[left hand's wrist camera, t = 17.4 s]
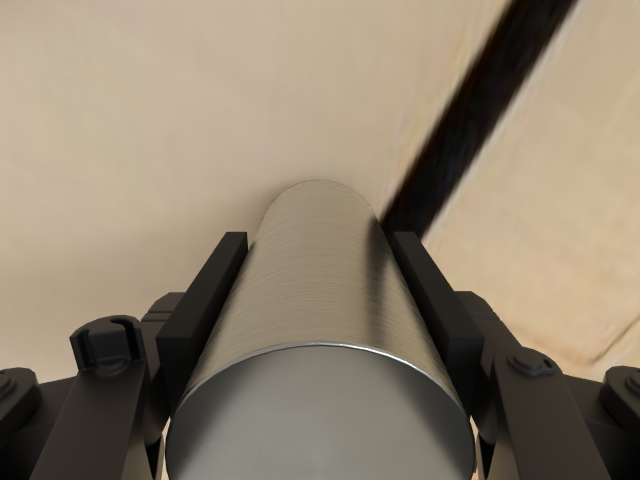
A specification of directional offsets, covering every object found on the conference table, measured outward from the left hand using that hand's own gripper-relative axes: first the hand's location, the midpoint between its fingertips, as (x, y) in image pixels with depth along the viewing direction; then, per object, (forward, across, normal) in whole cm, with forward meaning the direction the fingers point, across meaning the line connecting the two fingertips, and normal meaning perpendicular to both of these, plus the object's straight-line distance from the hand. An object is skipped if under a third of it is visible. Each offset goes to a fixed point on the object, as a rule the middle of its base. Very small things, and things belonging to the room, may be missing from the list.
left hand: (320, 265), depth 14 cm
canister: (+3, 0, 0) cm, 3 cm away
